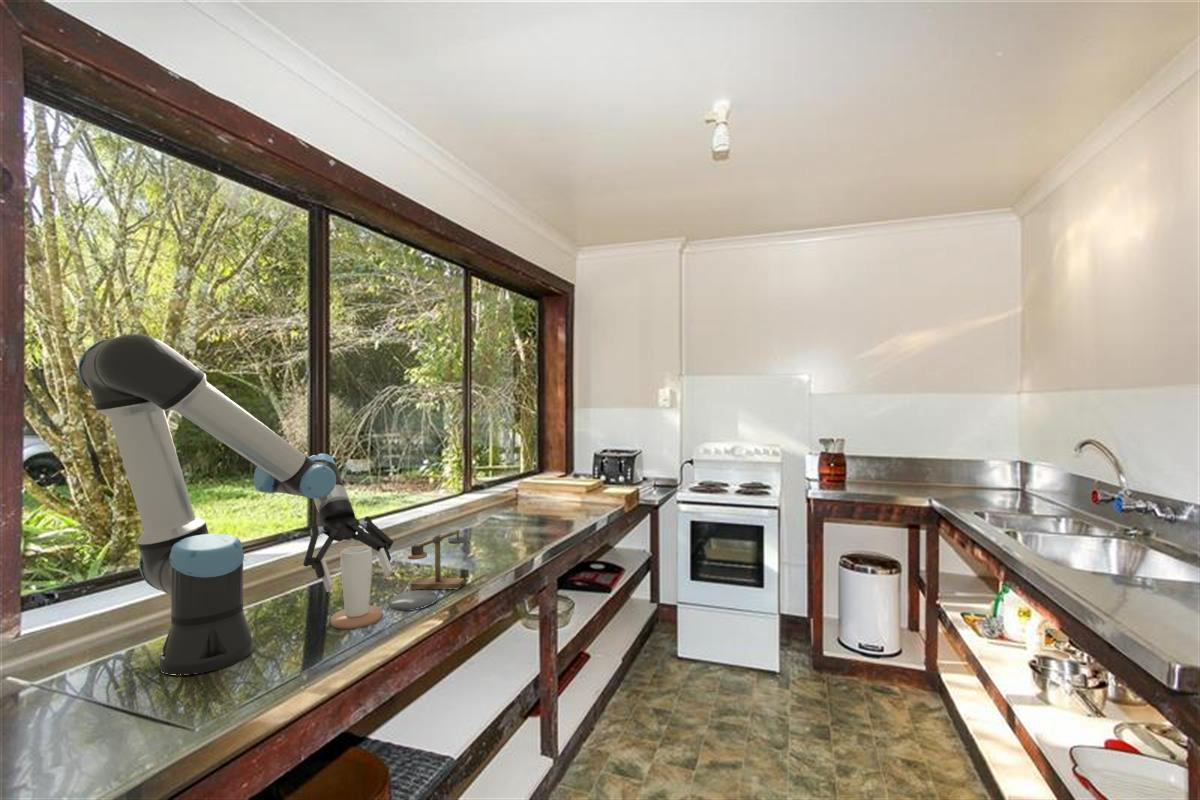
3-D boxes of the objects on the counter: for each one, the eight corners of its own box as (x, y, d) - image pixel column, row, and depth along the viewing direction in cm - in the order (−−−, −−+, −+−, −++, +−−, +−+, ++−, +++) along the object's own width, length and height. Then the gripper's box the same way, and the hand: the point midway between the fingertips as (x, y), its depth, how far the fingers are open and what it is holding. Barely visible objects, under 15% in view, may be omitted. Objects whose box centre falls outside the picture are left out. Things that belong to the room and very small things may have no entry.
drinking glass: (338, 613, 128) (337, 548, 128) (368, 606, 132) (367, 544, 132) (344, 622, 122) (344, 554, 123) (376, 614, 127) (375, 549, 127)
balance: (405, 589, 147) (404, 531, 148) (412, 583, 152) (411, 527, 153) (464, 589, 147) (463, 531, 147) (470, 583, 152) (469, 527, 152)
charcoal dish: (382, 610, 132) (382, 605, 132) (401, 594, 143) (401, 590, 143) (427, 610, 132) (426, 605, 132) (442, 594, 143) (442, 590, 143)
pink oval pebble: (320, 628, 122) (320, 623, 122) (346, 610, 133) (346, 605, 133) (368, 629, 121) (368, 623, 121) (390, 610, 132) (390, 605, 132)
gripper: (378, 509, 147) (406, 577, 137) (275, 525, 129) (297, 604, 119) (387, 491, 144) (416, 559, 133) (282, 505, 125) (306, 585, 115)
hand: (360, 580), depth 126 cm, fingers open, 13 cm apart
